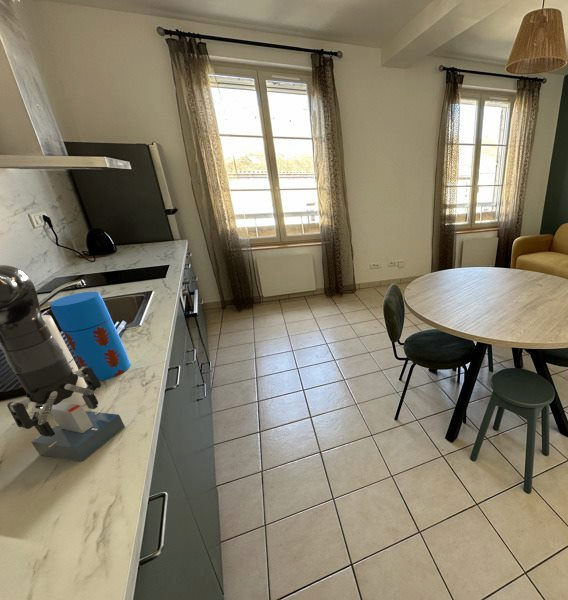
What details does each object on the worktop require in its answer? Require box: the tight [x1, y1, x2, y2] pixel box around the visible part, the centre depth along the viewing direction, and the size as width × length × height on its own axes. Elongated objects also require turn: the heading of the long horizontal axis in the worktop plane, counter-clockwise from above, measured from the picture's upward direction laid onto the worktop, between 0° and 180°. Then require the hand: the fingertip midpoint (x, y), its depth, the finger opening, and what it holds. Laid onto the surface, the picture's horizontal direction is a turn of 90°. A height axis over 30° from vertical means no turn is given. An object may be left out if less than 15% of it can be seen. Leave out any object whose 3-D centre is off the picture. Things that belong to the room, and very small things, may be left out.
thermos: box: [49, 291, 131, 382], centre depth 98 cm, size 11×11×25 cm
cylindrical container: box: [41, 314, 88, 407], centre depth 85 cm, size 7×7×25 cm
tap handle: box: [50, 402, 93, 433], centre depth 74 cm, size 7×2×6 cm, turn 76°
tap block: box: [30, 409, 126, 462], centre depth 76 cm, size 12×11×4 cm
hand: (72, 420), depth 74 cm, fingers open, 8 cm apart
